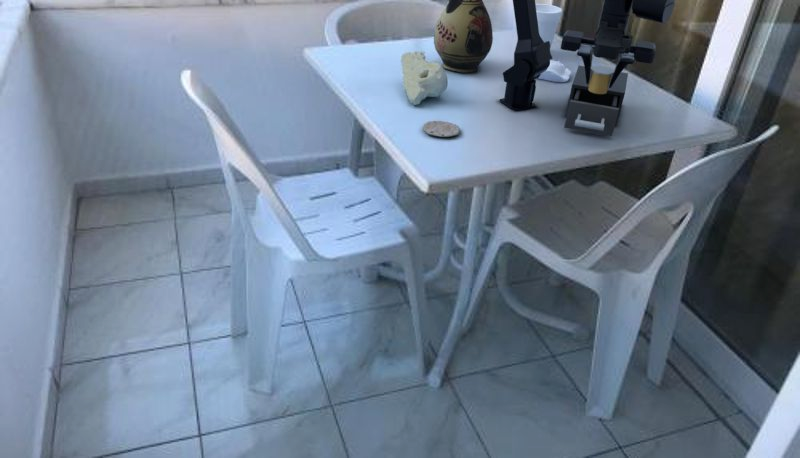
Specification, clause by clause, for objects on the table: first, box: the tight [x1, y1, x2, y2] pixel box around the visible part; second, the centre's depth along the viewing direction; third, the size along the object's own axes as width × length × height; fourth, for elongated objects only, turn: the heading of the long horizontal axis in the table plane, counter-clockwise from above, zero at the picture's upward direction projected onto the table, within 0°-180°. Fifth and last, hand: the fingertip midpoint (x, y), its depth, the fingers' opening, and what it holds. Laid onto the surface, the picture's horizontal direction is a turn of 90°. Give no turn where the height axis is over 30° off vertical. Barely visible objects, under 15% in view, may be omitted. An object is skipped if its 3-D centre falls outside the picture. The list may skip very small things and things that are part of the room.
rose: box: [538, 60, 572, 83], centre depth 170 cm, size 10×4×10 cm
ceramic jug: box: [433, 0, 494, 74], centre depth 165 cm, size 17×15×30 cm
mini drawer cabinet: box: [564, 65, 629, 127], centre depth 151 cm, size 14×12×8 cm
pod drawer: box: [563, 89, 619, 138], centre depth 142 cm, size 17×10×6 cm, turn 161°
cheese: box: [400, 50, 449, 106], centre depth 154 cm, size 15×7×15 cm
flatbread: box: [422, 120, 460, 138], centre depth 139 cm, size 8×8×1 cm
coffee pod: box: [588, 64, 615, 94], centre depth 138 cm, size 5×5×5 cm
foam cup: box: [535, 3, 563, 49], centre depth 182 cm, size 10×9×13 cm
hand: (598, 85), depth 139 cm, fingers closed on coffee pod, 4 cm apart
